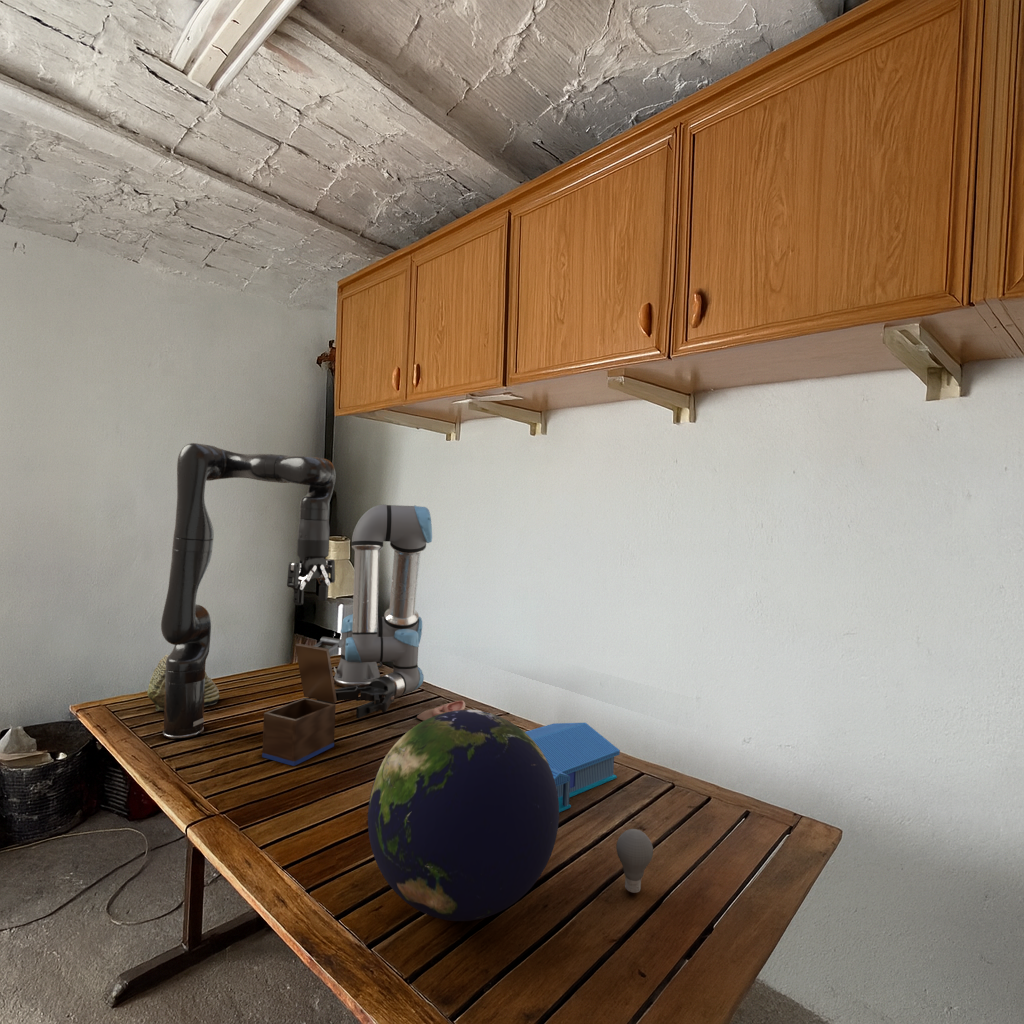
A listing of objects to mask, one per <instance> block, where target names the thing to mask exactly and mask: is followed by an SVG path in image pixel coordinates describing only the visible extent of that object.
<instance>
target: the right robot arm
mask: <svg viewBox="0 0 1024 1024" xmlns="http://www.w3.org/2000/svg"><path fill="white" fill-rule="evenodd" d="M432 526H433V525H432V517H431V513H430V510H429V508H428V507H427V506H420V505H419V506H417V505H415V504H414V505H397V504H377V505H374V506H372V507H371V508H369V509H368V510H367V511H365V512H364V513H363V515H361V517H360V518H359V520H358V521H357V523H356V525H355V527H354V529H353V532H352V537H351V549H352V550H354V563H353V564H354V565H353V566H354V567H353V594H352V595H353V598H352V599H353V600H352V614H349V615H347V616H345V617H344V618H343V619H342V622H341V623H342V624H341V630H340V633H341V639H342V640H343V641H344V644H343V646H342V647H341V648H340V659H339V662H338V666H337V668H336V667H335V666H333V671H334V673H335V674H334V675H333V679H334V685H336V686H338V687H340V688H335V692H336V698H337V702H340V701H352V700H355V701H356V702H359V701H360V702H361V701H365V702H367V703H364V704H362V705H360V706H357V707H356V709H355V710H356V711H355V718H356V719H360V718H363V717H365V716H367V715H370V714H372V713H374V712H376V713H377V712H378V713H379V712H380V711H381V712H382V713H386V712H387V711H388V709H389V707H390V706H391V704H392V703H394V702H395V700H396V699H397V698H400V697H402V696H405V695H406V694H409V693H412V692H414V691H416V690H418V689H419V688H420V687H421V686H422V685H423V683H424V680H425V676H424V673H423V670H422V669H421V668H420V667H419V665H418V662H419V660H418V659H419V647H420V643H421V639H422V634H423V632H422V631H423V619H422V617H421V616H419V613H418V611H417V610H416V602H417V594H418V593H417V591H418V584H419V572H420V563H421V554H422V553H423V551H425V550H426V548H427V544H430V543H432V541H433V527H432ZM384 542H389V546H390V548H391V549H392V550H393V560H392V561H393V562H392V573H391V574H392V575H391V586H390V598H389V607H388V608H387V609H386V610H385V611H384V614H383V615H384V616H379V588H380V587H379V586H380V556H381V555H380V552H381V550H383V549H384ZM390 662H391V663H392V669H393V671H392V672H389V673H387V674H385V675H382V676H381V674H380V670H379V668H382V667H383V663H390ZM378 663H379V665H378ZM359 695H360V697H359ZM316 700H317V701H322V700H318V699H316ZM322 702H326V703H331V702H327V701H322ZM331 704H334V703H331Z"/></svg>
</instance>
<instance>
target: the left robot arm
mask: <svg viewBox="0 0 1024 1024" xmlns="http://www.w3.org/2000/svg"><path fill="white" fill-rule="evenodd" d="M225 479H250V480H254V481H261V482H267V483H278V484H289V483H290V484H296V485H302V486H303V485H304V486H308V490H307V494H306V495H303V497H301V499H300V502H299V519H298V526H297V543H296V544H297V546H296V555H297V557H298V558H299V561H298V562H294V561H293V562H292V561H291V562H289V563H288V569H287V581H286V582H287V583H286V587H287V588H291V589H293V603H294V605H296V606H303V605H304V597H305V596H304V594H305V589H304V588H305V587H306V585H307V584H308V583H309V582H310V580H313V579H316V580H317V582H318V584H319V585H318V600H319V601H321V602H326V601H327V600H328V597H329V586H330V585H331V584H333V583H335V582H336V561H335V559H329V558H328V557H329V553H330V552H329V551H330V502H331V499H332V496H333V492H334V489H335V488H334V487H335V483H336V469H335V466H334V464H333V462H331V460H329V459H327V458H324V457H317V456H307V455H306V456H305V455H294V456H293V455H292V456H291V455H287V454H278V453H277V454H276V453H250V454H248V453H239V452H235V451H230V450H226V449H223V448H220V447H217V446H215V445H211V444H210V445H209V444H204V443H198V442H196V443H195V442H190V443H187V444H186V445H184V446H183V447H182V448H181V450H180V451H179V453H178V457H177V462H176V493H177V495H176V508H175V509H176V510H175V522H174V531H173V537H172V538H173V539H172V548H171V562H170V570H169V578H168V588H167V594H166V598H165V604H164V606H163V611H162V615H161V622H160V631H161V634H162V636H163V639H164V640H165V641H166V642H167V643H169V644H171V645H173V649H172V651H171V652H170V653H169V654H168V655H169V656H168V657H167V659H166V674H165V705H164V710H163V731H162V737H164V738H166V739H169V740H185V739H190V738H191V739H192V738H194V737H197V736H199V735H202V734H203V732H204V730H205V729H204V722H205V706H204V693H205V672H206V664H207V663H206V662H207V658H208V655H209V653H210V647H211V636H212V635H211V634H212V619H211V616H210V613H209V611H208V610H207V608H206V607H204V606H203V605H200V604H197V596H198V591H199V587H200V584H201V582H202V580H203V578H204V576H205V574H206V571H207V570H208V567H209V565H210V563H211V559H212V556H213V555H212V553H213V548H214V535H215V534H214V533H215V532H214V525H213V524H212V520H211V517H210V515H209V511H208V510H207V507H206V502H205V501H206V500H205V491H206V483H207V481H208V482H209V481H217V480H225Z"/></svg>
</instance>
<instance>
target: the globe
mask: <svg viewBox="0 0 1024 1024" xmlns="http://www.w3.org/2000/svg"><path fill="white" fill-rule="evenodd" d="M525 732H526V731H524V730H523V729H521V727H519V726H517V725H516V724H514V723H513V722H511V721H510V720H508V719H506V718H504V717H501V716H499V715H497V714H495V713H492V712H487V711H483V710H479V709H464V710H457V711H450V712H445V713H442V714H439V715H436V716H433V717H431V718H429V719H427V720H425V721H423V720H422V721H421V722H419V723H418V724H417V725H414V726H413V727H412V728H411V729H409V730H408V731H407V732H405V734H403V735H402V736H401V737H400V738H399V739H398V740H397V741H396V742H395V743H394V745H392V747H391V748H390V750H389V751H388V753H387V754H386V755H385V757H384V758H383V760H382V762H381V764H380V766H379V768H378V770H377V772H376V775H375V778H374V780H373V783H372V787H371V791H370V793H369V800H368V801H369V802H368V809H367V829H368V831H367V832H368V838H369V843H370V847H371V852H372V855H373V857H374V860H375V863H376V865H377V867H378V869H379V871H380V873H381V874H382V876H383V878H384V880H385V881H386V883H387V885H389V886H390V888H391V889H392V890H393V891H394V892H395V894H397V896H399V897H400V898H401V900H403V902H405V903H406V904H408V905H409V906H410V907H412V908H414V909H415V910H417V911H419V912H421V913H423V914H425V915H428V916H430V917H432V918H436V919H440V920H443V921H448V922H449V921H450V922H471V921H477V920H482V919H486V918H488V917H491V916H494V915H496V914H499V913H501V912H502V911H505V910H506V909H508V908H510V907H511V906H512V905H514V904H515V903H517V902H518V901H519V900H520V899H521V898H522V897H524V896H525V895H526V894H527V893H528V892H529V891H530V890H531V889H532V888H533V886H534V885H535V884H536V883H537V881H538V880H539V879H540V877H541V876H542V874H543V872H544V870H545V869H546V867H547V865H548V863H549V860H550V858H551V856H552V853H553V851H554V847H555V845H556V840H557V835H558V832H559V823H560V812H559V801H558V793H557V788H556V784H555V780H554V777H553V774H552V771H551V769H550V766H549V764H548V761H547V760H546V758H545V756H544V754H543V753H542V751H541V750H540V748H539V747H538V746H537V744H536V743H535V742H534V741H533V740H532V739H531V738H530V737H529V736H528V735H527V734H526V733H525Z"/></svg>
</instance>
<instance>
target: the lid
mask: <svg viewBox="0 0 1024 1024" xmlns="http://www.w3.org/2000/svg"><path fill="white" fill-rule="evenodd" d="M343 644H344V641H343V640H342V638H341V639H340V638H335V637H329V636H321V638H320V639H319V641H318V642H317V643H315V644H313V645H309V644H303V643H296V644H295V645H294V647H295V651H296V653H295V654H296V659H297V664H298V670H299V676H300V681H301V687H302V693H303V698H308V699H312V700H317V699H318V700H322V701H327V702H331V703H333V704H336V703H337V702H338V701H337V698H336V692H335V689H336V687H335V685H336V684H335V683H334V673H333V668H332V661H331V660H332V659H331V655H330V654H331V652H333V651H334V650H336V649H337V648H339V649H341V647H342V646H343ZM322 645H323V646H328V648H327V647H321V646H322Z"/></svg>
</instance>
